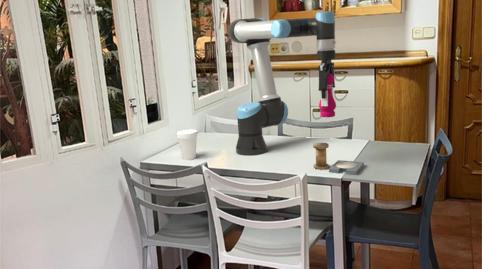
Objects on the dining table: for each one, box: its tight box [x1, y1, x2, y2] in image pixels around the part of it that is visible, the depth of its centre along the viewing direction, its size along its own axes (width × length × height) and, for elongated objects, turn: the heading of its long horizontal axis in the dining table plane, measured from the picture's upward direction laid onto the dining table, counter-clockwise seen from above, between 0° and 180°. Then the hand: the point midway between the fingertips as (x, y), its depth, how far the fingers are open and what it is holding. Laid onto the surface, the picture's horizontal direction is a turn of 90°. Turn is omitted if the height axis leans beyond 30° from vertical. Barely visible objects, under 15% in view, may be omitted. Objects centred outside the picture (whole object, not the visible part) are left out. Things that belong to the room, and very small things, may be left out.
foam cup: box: [176, 129, 198, 161], centre depth 221 cm, size 10×9×13 cm
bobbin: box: [312, 142, 330, 171], centre depth 193 cm, size 6×6×10 cm
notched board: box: [328, 159, 365, 176], centre depth 190 cm, size 11×13×2 cm
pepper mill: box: [318, 73, 337, 118], centre depth 196 cm, size 7×7×20 cm
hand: (327, 104), depth 197 cm, fingers closed on pepper mill, 7 cm apart
